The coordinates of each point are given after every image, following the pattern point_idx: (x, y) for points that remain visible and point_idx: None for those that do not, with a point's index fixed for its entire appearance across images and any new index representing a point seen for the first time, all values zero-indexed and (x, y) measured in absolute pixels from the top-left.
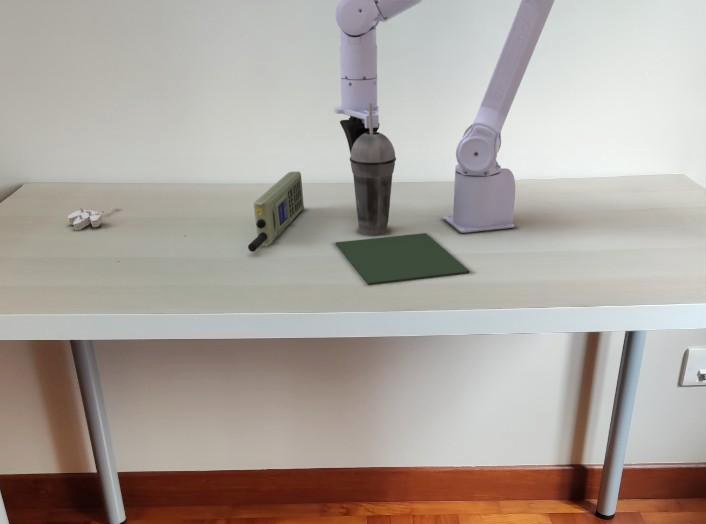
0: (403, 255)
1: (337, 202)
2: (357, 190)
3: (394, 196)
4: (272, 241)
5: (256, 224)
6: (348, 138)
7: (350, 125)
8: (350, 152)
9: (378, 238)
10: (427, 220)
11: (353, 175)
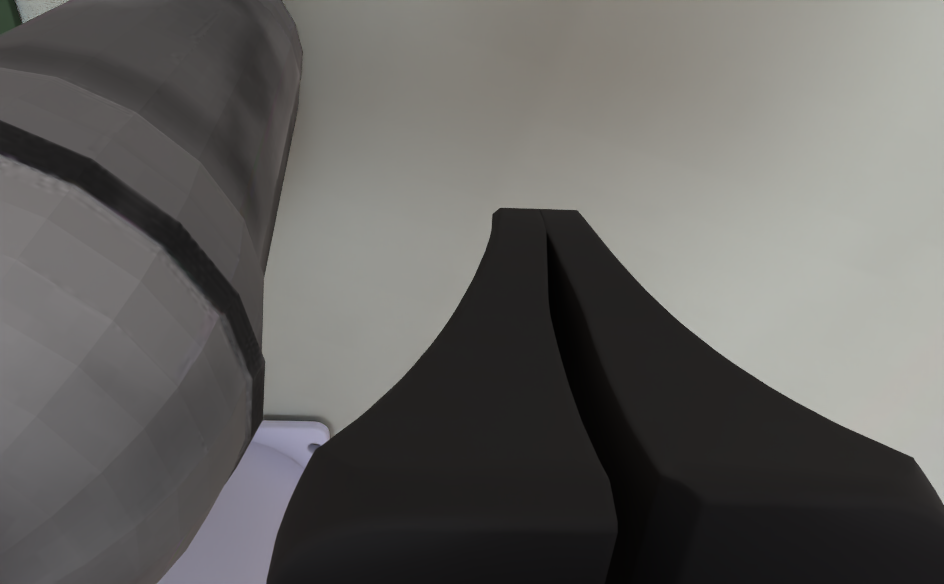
0: None
1: (936, 22)
2: (10, 31)
3: (819, 356)
4: None
5: None
6: (604, 360)
7: (277, 552)
8: (597, 262)
9: (2, 23)
10: (346, 361)
11: (59, 71)
